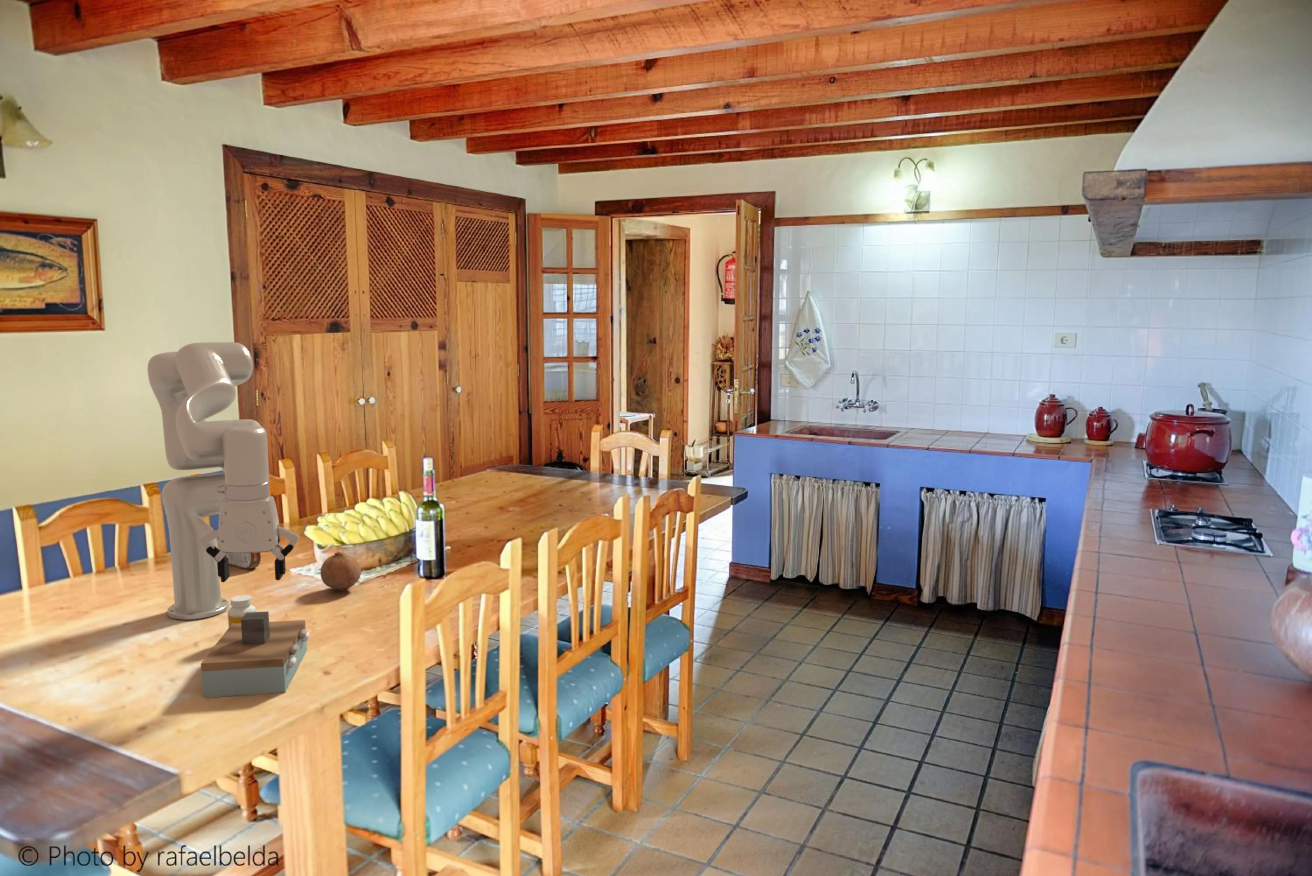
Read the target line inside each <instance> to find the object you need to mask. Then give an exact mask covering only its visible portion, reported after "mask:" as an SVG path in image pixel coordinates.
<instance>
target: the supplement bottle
mask: <svg viewBox="0 0 1312 876" xmlns="http://www.w3.org/2000/svg"><path fill="white" fill-rule="evenodd" d="M252 602H253V599H252V596H251V595H249V594H241V595H237V596H236V595H235V596H232V598H230V606H231V607H230V608H228V609H227V623H228V628H229V627H230V626H231V624H237V623H241V619H242V618H243V616H244V615H245V614H246V612H257V609H256V607H255V606H254V605H253V604H252Z"/></svg>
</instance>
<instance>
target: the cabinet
mask: <svg viewBox="0 0 1312 876" xmlns="http://www.w3.org/2000/svg"><path fill="white" fill-rule="evenodd" d="M305 630H306V631H307V627H306V626H305ZM310 636H311V633H310V631H307V633H306V635H305V637H304V638H303V639H299V640H298V641H297V643H296V644H297V645H298V647H299V648H298V650H297V652H296V654H295V655H290V656H289V658H288V660H287V661H286V663H285V665H284V666H283V667H266V668H250V669H233V670H217V671H201V685H202V696H203V697H202V698H203V699H204V698H218V697H219V698H221V697H235V696H236V697H237V696H249V695H250V696H251V695H265V694H266V695H267V694H281V693H286V691H287V690H288V688H289V686H290V685H291V682H292V680H293V678H294V677H295V674H296V673H297V671H298V669H299V667H300V665H301V663H302V661H303V659H304V657H305V655H306V653H307V651H308V645H307V644H308V640H309V638H310Z"/></svg>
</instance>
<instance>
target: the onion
mask: <svg viewBox="0 0 1312 876" xmlns="http://www.w3.org/2000/svg"><path fill="white" fill-rule="evenodd" d="M361 569H362V568H361V565H360V563H359V562H358V561H357V559H355V558H354V557H352V556H350V555H347V554H345V553H344V552H341V551H336V552H334V553H333V555H330V556H328V557H327V558H326V559H324V561H323V563H322V565H321V568H320V578H321V581H322V583H323V584H324V585H325V586H327V587H329V588H330V589H332V590H335V592H344V591H347V590H350V588H352V587H353V586H354V585H355V584H357V583H358V582H359V580H360V578H361V575H362V570H361Z"/></svg>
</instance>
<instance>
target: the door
mask: <svg viewBox="0 0 1312 876" xmlns="http://www.w3.org/2000/svg"><path fill="white" fill-rule="evenodd" d="M269 615H270V614H269V611H256V612H246V614H245V615H244V616H243V618H242V619H241V623H237V624H231V626H230V627H229V626H228V628H227V629H226V631H225V632H224V633H223V635H222V636H221V637H220V638H219V640H218V641H217V642H216V644H215V645H213V647H212V649H211V650H210V651H209V652H208V653H207V655H206V656H205V658H204V659H203V660H202V661H201V663H200V670H201V672H202V671H217V670H233V669H250V668H266V667H283V666H284V665H285V663H286V661H287V660H288V658H289V656H290V655H295V654H296V652H297V650H298V648H299V647H298V645H297V644H296V643H297V641H298V640H299V639H303V638H304V637H305V635H306V633H307V632H308V631H307V629H306V630H305V627H306V619H302V620H301V619H300V620H296V619H295V620H281V621H270V616H269Z"/></svg>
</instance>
